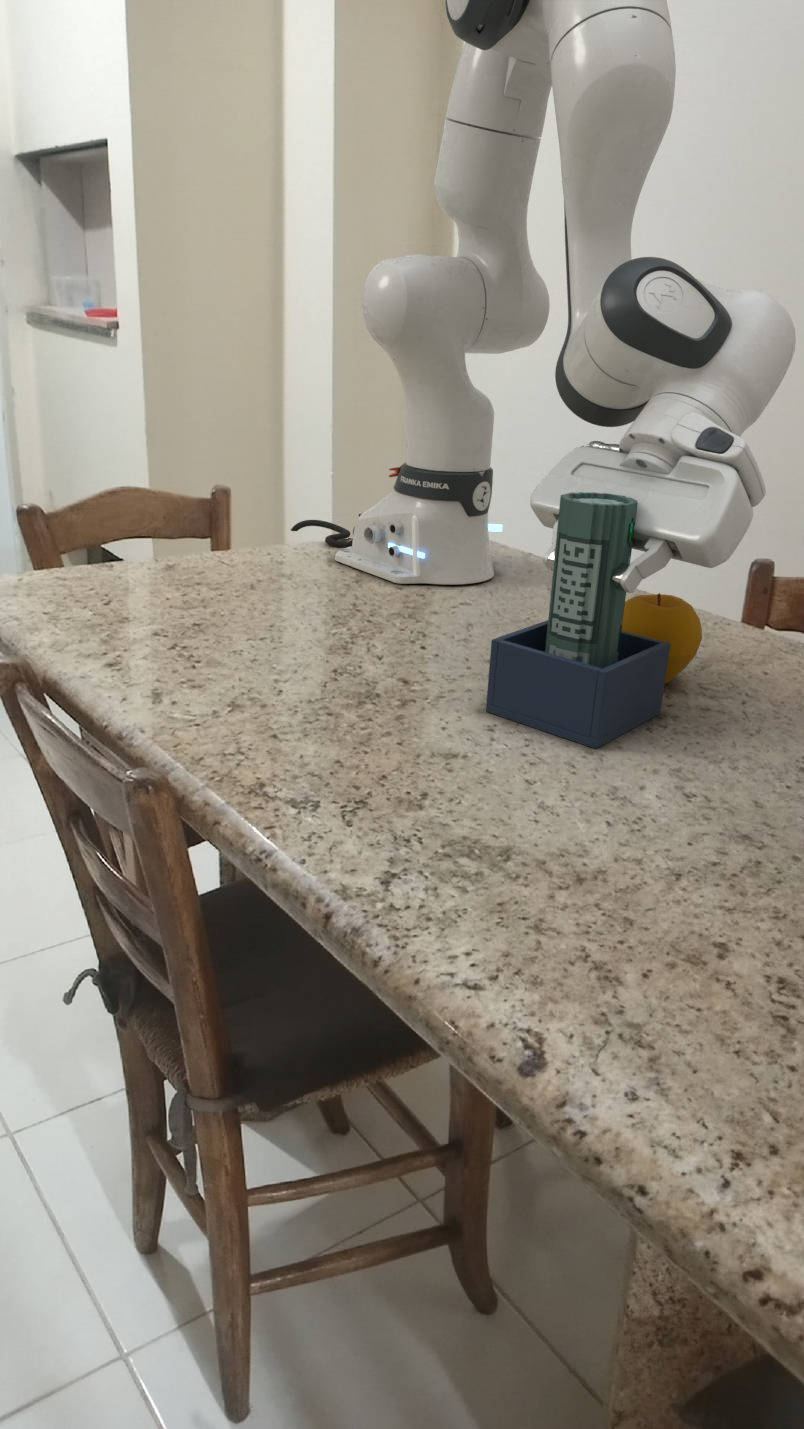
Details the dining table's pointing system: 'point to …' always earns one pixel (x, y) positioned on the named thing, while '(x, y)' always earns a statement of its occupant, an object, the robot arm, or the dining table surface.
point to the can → (589, 577)
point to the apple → (665, 627)
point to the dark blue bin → (576, 686)
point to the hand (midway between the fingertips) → (585, 577)
